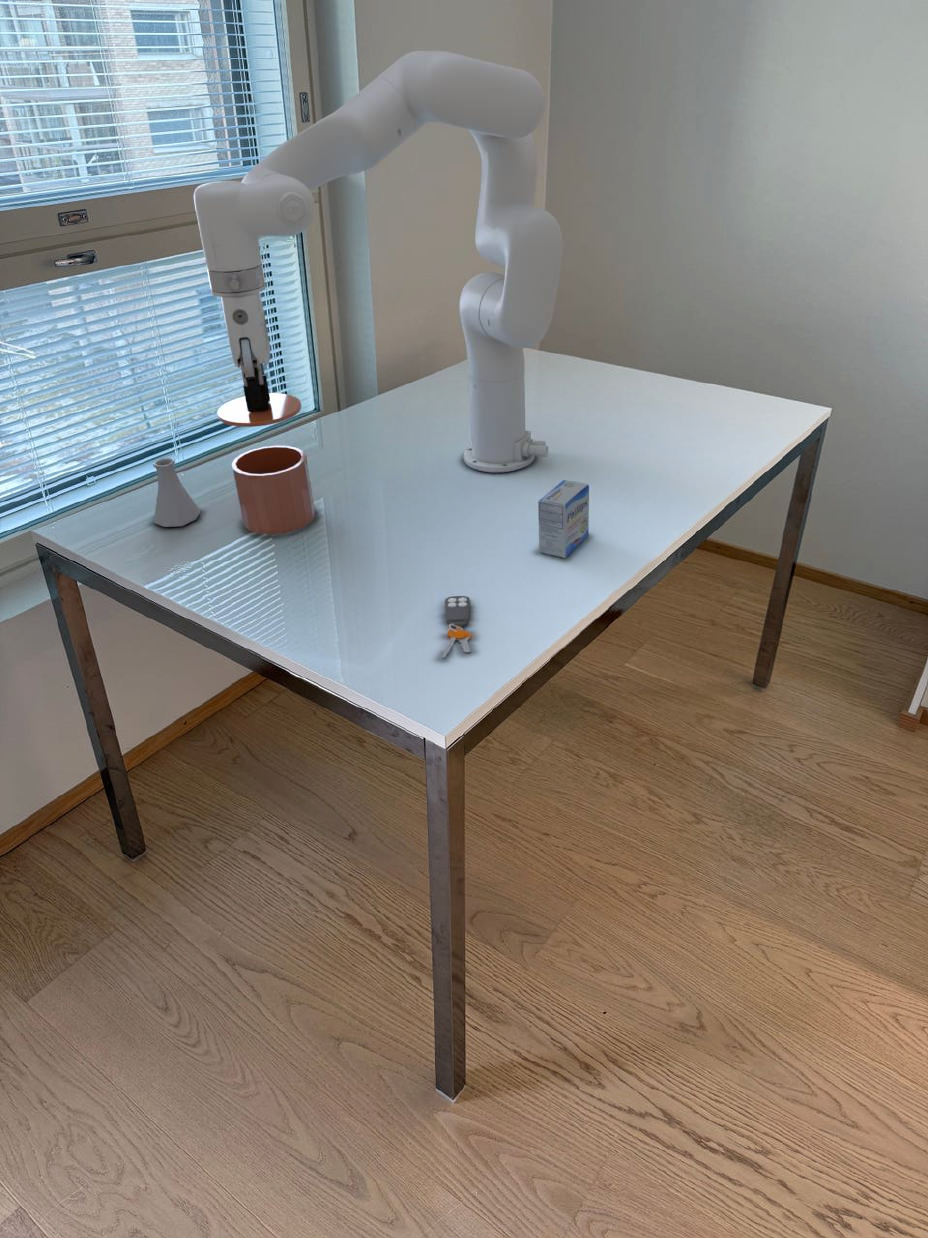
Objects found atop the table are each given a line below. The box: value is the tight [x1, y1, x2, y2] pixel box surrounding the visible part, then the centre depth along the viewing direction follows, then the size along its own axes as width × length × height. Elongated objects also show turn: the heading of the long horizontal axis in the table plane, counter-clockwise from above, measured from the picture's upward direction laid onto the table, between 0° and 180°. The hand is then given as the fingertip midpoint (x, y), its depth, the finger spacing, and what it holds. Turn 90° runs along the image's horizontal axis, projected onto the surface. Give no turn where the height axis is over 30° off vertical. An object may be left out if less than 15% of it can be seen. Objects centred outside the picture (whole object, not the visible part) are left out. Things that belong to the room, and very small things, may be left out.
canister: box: [230, 445, 316, 535], centre depth 149 cm, size 11×12×10 cm
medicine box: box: [537, 479, 590, 559], centre depth 138 cm, size 8×4×9 cm, turn 148°
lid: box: [216, 375, 302, 428], centre depth 140 cm, size 12×12×6 cm
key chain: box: [441, 595, 472, 659], centre depth 123 cm, size 13×4×2 cm, turn 0°
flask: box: [152, 457, 201, 528], centre depth 152 cm, size 7×7×10 cm
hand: (259, 405), depth 141 cm, fingers closed on lid, 2 cm apart
